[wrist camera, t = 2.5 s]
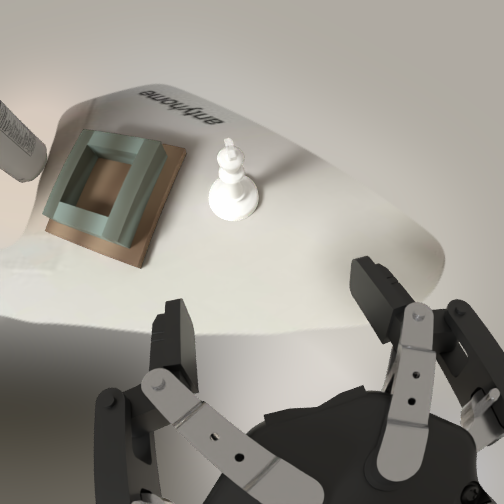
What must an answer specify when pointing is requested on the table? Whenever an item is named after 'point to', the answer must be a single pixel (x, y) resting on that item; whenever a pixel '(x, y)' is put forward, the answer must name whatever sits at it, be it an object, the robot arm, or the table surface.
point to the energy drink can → (19, 148)
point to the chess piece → (232, 186)
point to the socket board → (112, 193)
